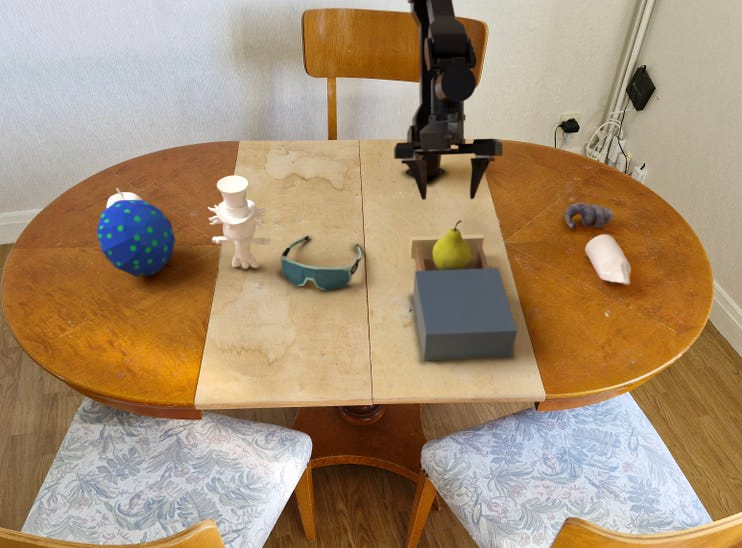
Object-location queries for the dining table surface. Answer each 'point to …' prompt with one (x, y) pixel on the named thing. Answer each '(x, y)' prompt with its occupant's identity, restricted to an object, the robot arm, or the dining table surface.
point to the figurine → (238, 219)
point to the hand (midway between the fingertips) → (447, 199)
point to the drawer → (424, 251)
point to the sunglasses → (317, 271)
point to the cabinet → (463, 314)
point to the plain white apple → (122, 197)
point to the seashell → (588, 215)
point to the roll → (608, 259)
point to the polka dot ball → (136, 237)
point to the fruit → (452, 251)
